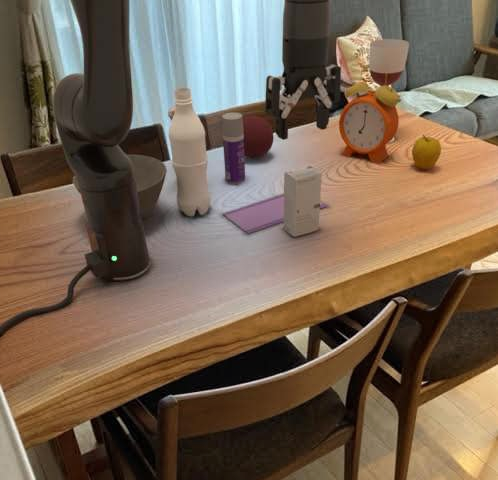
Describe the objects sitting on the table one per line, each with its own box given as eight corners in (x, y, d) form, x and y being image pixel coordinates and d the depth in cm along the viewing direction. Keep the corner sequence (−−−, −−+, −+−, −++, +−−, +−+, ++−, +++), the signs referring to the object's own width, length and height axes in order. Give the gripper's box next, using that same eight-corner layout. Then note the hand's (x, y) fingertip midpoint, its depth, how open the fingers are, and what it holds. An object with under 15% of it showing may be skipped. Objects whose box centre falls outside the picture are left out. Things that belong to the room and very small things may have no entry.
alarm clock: (335, 153, 137) (341, 70, 125) (347, 146, 141) (354, 64, 128) (383, 165, 131) (394, 78, 118) (394, 156, 135) (406, 71, 122)
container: (243, 185, 125) (240, 119, 116) (223, 183, 126) (219, 119, 116) (247, 176, 129) (244, 112, 119) (228, 175, 129) (224, 111, 120)
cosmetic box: (293, 238, 106) (295, 180, 98) (282, 228, 109) (282, 171, 101) (320, 230, 108) (323, 172, 100) (307, 220, 111) (310, 164, 103)
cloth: (247, 234, 108) (247, 232, 107) (222, 214, 114) (222, 213, 114) (326, 206, 116) (326, 205, 115) (298, 190, 122) (299, 188, 122)
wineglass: (401, 134, 146) (414, 40, 132) (387, 146, 140) (400, 50, 125) (369, 128, 150) (379, 37, 136) (354, 140, 144) (363, 46, 129)
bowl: (89, 200, 122) (79, 157, 115) (173, 194, 122) (167, 151, 116) (76, 243, 107) (64, 197, 101) (171, 235, 108) (165, 189, 102)
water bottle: (194, 200, 120) (182, 81, 104) (218, 209, 116) (209, 87, 100) (171, 212, 116) (154, 91, 100) (195, 222, 112) (182, 98, 96)
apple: (404, 164, 131) (409, 132, 126) (428, 161, 132) (434, 128, 127) (417, 175, 126) (423, 141, 121) (442, 171, 127) (449, 138, 122)
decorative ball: (232, 151, 141) (229, 112, 134) (269, 147, 142) (269, 108, 136) (237, 166, 133) (235, 126, 127) (277, 162, 134) (277, 122, 128)
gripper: (326, 23, 91) (321, 119, 101) (255, 34, 86) (257, 135, 96) (355, 30, 86) (346, 131, 96) (282, 42, 81) (281, 148, 91)
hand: (302, 133), depth 96 cm, fingers open, 8 cm apart
